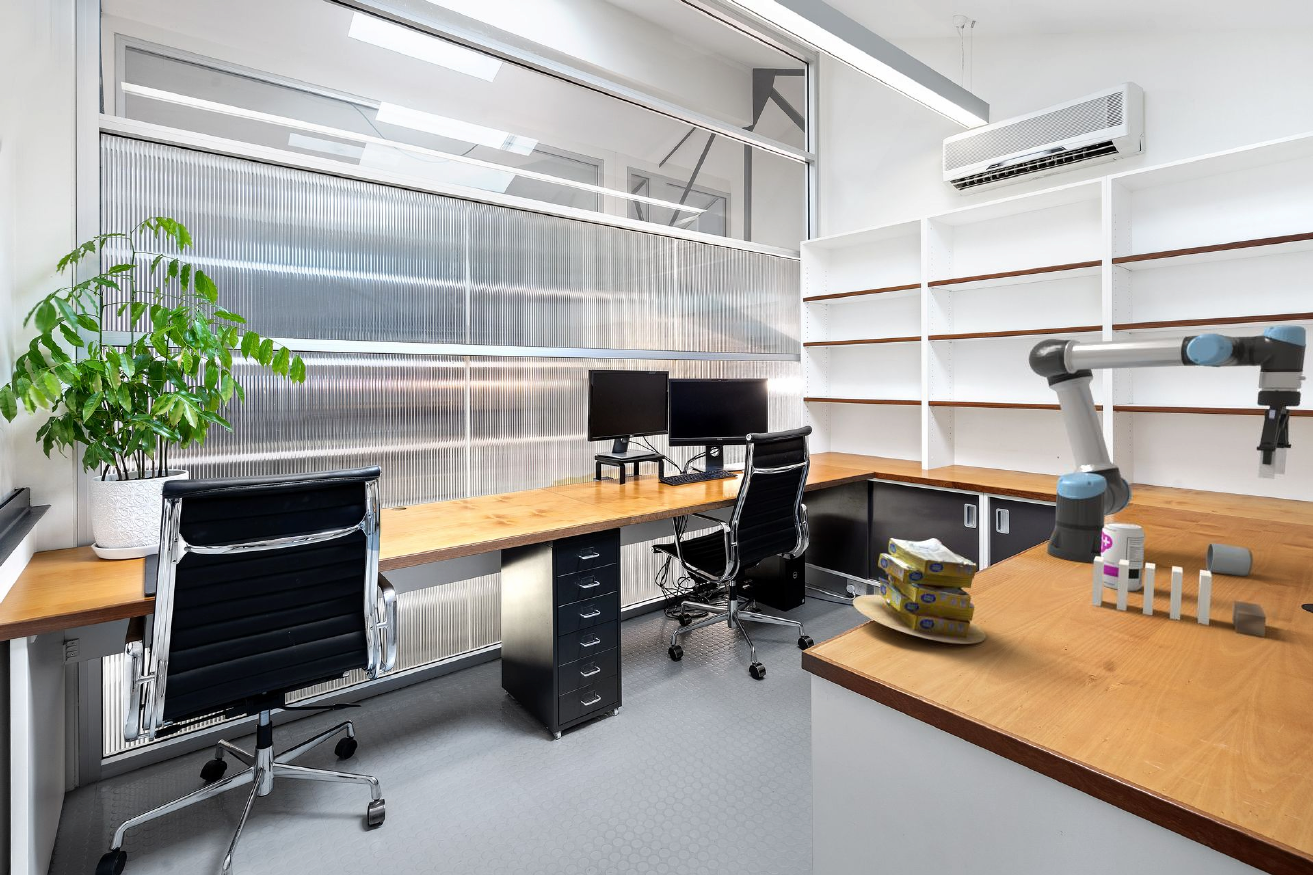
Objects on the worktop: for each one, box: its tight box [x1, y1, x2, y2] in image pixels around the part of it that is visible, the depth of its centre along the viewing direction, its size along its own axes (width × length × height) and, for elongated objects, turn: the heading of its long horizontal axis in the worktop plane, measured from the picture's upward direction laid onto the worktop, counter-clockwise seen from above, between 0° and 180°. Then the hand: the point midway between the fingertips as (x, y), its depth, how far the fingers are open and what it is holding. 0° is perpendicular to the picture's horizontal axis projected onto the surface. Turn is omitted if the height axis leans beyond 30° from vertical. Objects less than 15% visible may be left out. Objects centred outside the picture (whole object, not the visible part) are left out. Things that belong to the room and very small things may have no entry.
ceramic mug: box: [1205, 542, 1254, 577], centre depth 166 cm, size 11×8×8 cm
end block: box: [1231, 600, 1267, 638], centre depth 126 cm, size 4×9×4 cm, turn 142°
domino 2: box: [1116, 559, 1129, 612], centre depth 139 cm, size 2×5×10 cm, turn 141°
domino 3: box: [1142, 562, 1156, 616], centre depth 136 cm, size 2×5×10 cm, turn 142°
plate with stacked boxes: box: [852, 537, 986, 645], centre depth 127 cm, size 25×25×17 cm
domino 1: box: [1091, 556, 1104, 607], centre depth 142 cm, size 2×5×10 cm, turn 142°
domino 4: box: [1169, 565, 1184, 621], centre depth 133 cm, size 2×5×10 cm, turn 142°
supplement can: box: [1101, 522, 1145, 592], centre depth 153 cm, size 8×8×15 cm
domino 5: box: [1196, 569, 1213, 626], centre depth 130 cm, size 2×5×10 cm, turn 142°
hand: (1271, 475), depth 158 cm, fingers open, 13 cm apart
